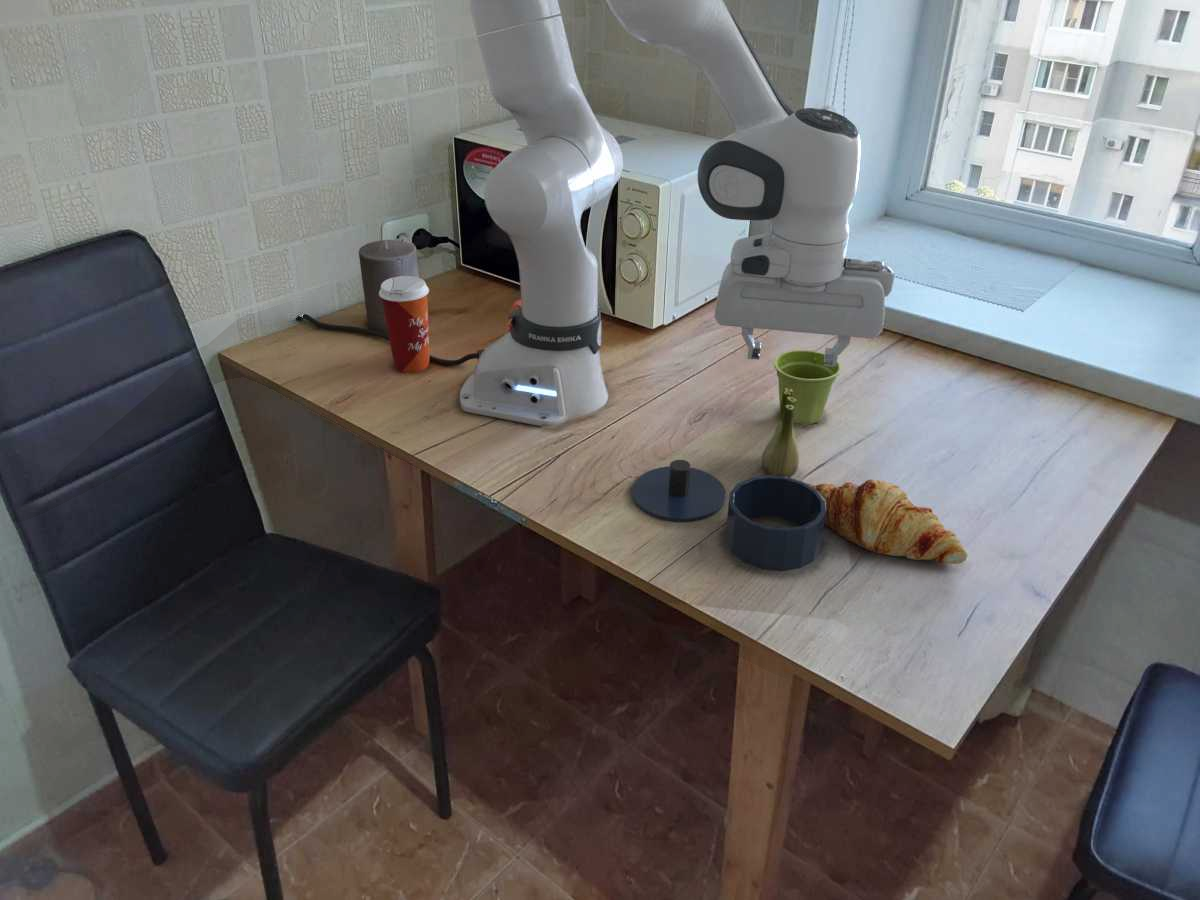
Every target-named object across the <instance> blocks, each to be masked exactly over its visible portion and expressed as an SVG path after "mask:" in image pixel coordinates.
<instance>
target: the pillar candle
mask: <svg viewBox="0 0 1200 900" xmlns="http://www.w3.org/2000/svg"><path fill="white" fill-rule="evenodd" d="M358 258H359V267H360V273H361V283H362V289H363V295H364V296H363V297H364V305H365V311H366V314H365V315H366V319H367V326H368V329H369V330H374V331H377V332H381V333H384V334H387V335H389V334H388V329H387V324H386V318H385V313H384V307H383V302H382V298H381V297H380V296H379V291H380V289H381V284H382V283H383V282H384V281H385V280H387V279H390V278H394V277H399V276H414V277H418V278H420V277H419V266H418V258H417V247H416V245H415V244H414V243H413V242H410V241H406V240H401V239H400V240H399V239H382V240H375V241H371V242H369V243H368V242H367V243H366V244H364V245H362V246H360V248H359V249H358Z"/></svg>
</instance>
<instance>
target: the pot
mask: <svg viewBox="0 0 1200 900" xmlns="http://www.w3.org/2000/svg"><path fill="white" fill-rule="evenodd" d="M807 484H808V483H806V482H804V481H801V480H798V479H795V478H791V477H782V476H771V475H768V474H767V475H757V476H752V477H749V478H747V479H744V480H742V481H740V482H738V483H736V484H735V485H734V487H732V489H731V490H730V491H729V493H728V494H729V495H728V503H727V504H728V505H727V516H726V526H725V539H724V540H725V541H724V543H725V545H726V546H727V548H728V550H729V551H730V553H731V555H733V556H734V557H736V558H737V559H738V560H740V561H741V562H742V563H744V564H746V565H750V566H751V567H755V568H758V569H760V570H766V571H774V572H775V571H777V572H786V571H787V572H788V571H793V570H799V569H802V568H803V567H805V566H808V565H810V564H811V563H813V562H814V561H815V559H816V558H817V557H818V556H819V554H820V553H821V547H822V541H823V535H824V528H825V524H824V523H825V517H826V502H825V500H824V499H823V497H822V496H821V495H820V493H819V492H818V491H817V490H816V489H814V488H812V487H811V486H809V485H807ZM761 517H762V518H763V517H768V518H780V519H783V520H786V521H789V522H793V523H795V524H797V526H790V527H779V526H770V525H769V526H768V525H766V524H762V523H760V522H757V521H753V520H751V519H754V518H761Z"/></svg>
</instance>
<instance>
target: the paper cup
mask: <svg viewBox="0 0 1200 900" xmlns="http://www.w3.org/2000/svg"><path fill="white" fill-rule="evenodd" d="M418 277H419V276H418ZM418 277H414V276H399V277H394V278H390V279H387V280H385V281H384V282H383V283H382V284H381V289H380V291H379V296H380V297H381V298H382V302H383V307H384V313H385V318H386V324H387V329H388V334H387V335H389V339H390V341H389V344H390V349H391V355H392V359H393V363H394V368H395V370H397V371H399V372H402V373H408V374H409V373H418V372H421V371H424V370H426V369H427V368H428V367H429V366H430V361H429V360H430V358H429V355H430V327H429V307H428V306H429V305H428V303H429V302H428V301H429V300H428V294H429V292H430V287H428V285H427V283H426V281H425V280H424V279H423V278H421V277H419V278H418Z"/></svg>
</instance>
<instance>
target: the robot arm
mask: <svg viewBox="0 0 1200 900" xmlns="http://www.w3.org/2000/svg"><path fill="white" fill-rule="evenodd" d="M605 1H606V3H607V5H608V7H609V9H610V11H611V13H612V14H613V16H614V17H615V19H616V21H618V23H619V24H620V26H621V27H622V28H623V29H624V30H625V32H626V33H627V34H628V36H630V37H631V38H632V39H634V40H635V41H638V42H639V43H642V44H643V45H647V46H650V47H654V48H656V49H657V48H658V49H661V50H665V51H668V52H672V53H673V54H676V55H678V56H681V57H683V58H684V59H686V60H688V61H689V62H691V63H692V64H694V66H696V67H697V68H698V69H699V70H700V71H701V73H703V75H704V77H706V79H707V81H708V82H709V84H710V85H711V88H712V89H713V91H714V93H715V94H716V96H717V98H718V100H719V101H720V103H721V105H722V106H723V108H724V110H725V111H726V114H727V115H728V117H729V118H730V120H731V121H732V124H733V126H734V128H735V132H732V133H731V134H729V135H727V136H725V137H723V138H721V139H719V140H718V141H716V142H715V143H713V144H712V145H710V146H709V147H708V148H707V149H706V150H705V151H704V153H703V154H702V156H701V158H700V161H699V162H698V167H697V185H698V190H699V192H700V195H701V198H702V199H703V201H704V202H705V204H706V205H707V206H708V208H709V209H710V210H711V211H712V212H713V213H715V214H716V215H717V216H719V217H722V218H723V219H729V220H734V221H735V220H736V221H770V222H771V231H768V232H764V233H759V234H756V235H751V236H747V237H741V238H738V239H737V240H735V242H734V244H733V245H732V248H731V251H730V262H729V263H728V264H727V265H726V266H725V268H724V270H723V272H722V276H721V279H720V283H719V286H718V291H717V296H716V301H715V308H714V319H715V321H716V322H717V324H719V325H720V326H724V327H736V328H737V327H738V328H741V336H742V338H743V340H744V342H745V344H746V346H747V347H748V349H747V359H748V360H758V361H759V360H760V357H761V355H760V354H761V347H762V342H760V341H756V340H755V339H754V337H753V335H754V329H759V330H769V331H770V330H772V331H782V332H793V333H794V332H795V333H802V334H803V333H805V334H815V335H826V336H827V335H828V336H836V337H837V341H836V342H835V344H834V345H833V346H832V347H825V348H824V354H825V355H824V366H834V367H836V364H837V361H838V358H839V356H840V355H841V354H842V353H843V351H845V350H846V348H847V347H848V346H849V345H850V342H851V338H860V339H875V338H877V337H878V336H879V335H880V334H881V333H883V330H884V323H885V314H886V313H885V312H886V297H888V296H889V295H890V294H891V292H892V290H893V286H894V281H895V274H894V272H893V270H892V269H891V268H890V267H889V266H888V265H885V264H884V263H885V262H883V261H881V260H880V261H879V260H872V261H870V260H862V259H855V258H847V257H846V255H847V249H848V243H849V238H850V225H849V216H850V213H851V209H852V207H853V205H854V203H855V200H856V195H857V190H858V182H859V173H860V165H861V164H860V163H861V137H860V133H859V130H858V128H857V126H856V125H855V124H854V123H853V122H852V121H851V120H850V119H848V118H847V117H845V116H844V115H842V114H839V113H838V112H836V111H831V110H828V109H823V108H814V107H806V108H799V109H797V110H795V111H794V110H792V108H790V107H789V106H788V105H787V104H786V102H785V101H784V100H783V98H781V96H780V94H779V93H778V91H777V89H776V88H775V85H774V84H773V82H772V80H771V78H770V77H769V75H768V73H767V72H766V69H765V68H764V66H763V64H762V63H761V61H760V59H759V57H758V56H757V54H756V52H755V50H754V49H753V47H752V45H751V43H750V41H749V40H748V38H747V36H746V35H745V33H744V30H743V29H742V28H741V26H740V24H739V23H738V21H737V19H736V18H735V17H734V15H733V14H732V12H731V11H730V9H729V8H728V7H727V4H726V3H725V2H724V0H605ZM468 2H469V9H470V14H471V19H472V24H473V27H474V32H475V35H476V39H477V42H478V46H479V47H478V48H479V51H480V53H481V57H482V61H483V66H484V69H485V72H486V77H487V81H488V85H489V88H490V92H491V95H492V97H493V99H494V100H495V102H496V103H497V104H498V105H499V106H500V107H501V108H504V109H505V110H507V111H508V112H509V114H510V115H511V116H513V118H514V119H515V121H516V123H517V124H518V126H519V128H520V130H521V131H522V133H523V136H524V138H525V140H526V143H527V144H525V146H522V147H519V148H517V149H515V150H513V151H511V152H510V153H508V155H506V156H505V157H504V158H503V159H502V160H501V161H500V162H499V163H498V164H497V165H496V166H495V167H494V168H492V170H491V171H490V172H489V174H488V175H487V178H486V180H485V183H484V188H483V197H484V202H485V207H486V210H487V212H488V214H489V216H490V218H491V219H492V221H493V222H494V223H495V225H496V226H497V227H499V229H500V230H502V231H503V232H505V233H506V234H507V235H508V237H509V239H510V241H511V244H512V246H513V248H514V251H515V255H516V260H517V263H518V270H519V272H518V273H519V286H520V299H517V300H515V301H514V302H513V305H512V306H511V308H510V313H509V315H508V321H507V323H506V324H507V333H505V334H504V335H502V336H501V337H499V338H497V339H496V340H495V341H492V342H491V343H490V344H488V346H486V348H484V349H476V352H475V353H469V354H466V355H464V356H462V357H460V358H458V359H444V358H443V359H442V358H439V357H435V356H433V355H430V354H429V358H430V360H429V362H432V363H434V364H437V365H442V366H459V365H462V364H464V363H466V362H468V361H470V360H475V359H477V360H476V361H477V362H476V365H475V367H474V368H475V369H474V372H473V373H471V374H470V376H468V378H467V379H466V380H465V382H464V383H463V385H462V387H461V389H460V392H459V406H460V408H461V410H462V411H463V412H466V413H470V414H476V415H481V416H485V417H490V418H491V417H492V418H495V419H503V420H506V421H512V422H517V423H523V424H527V425H533V426H538V427H542V426H556V425H559V424H561V423H563V422H565V421H567V420H569V419H573V418H577V417H581V416H584V415H588V414H590V413H592V412H595V411H596V410H598V409H600V408H604V407H605V405H606V404H607V402H608V400H609V392H608V389H607V387H606V383H605V379H604V375H603V370H602V369H603V368H602V362H601V355H600V354H601V353H600V349H601V345H602V330H603V329H602V317H601V310H600V308H599V305H598V303H599V302H598V300H599V298H598V297H599V295H598V293H599V265H598V260H597V258H596V256H595V254H594V253H593V252H592V251H591V250H590V249H589V248H587V247H586V244H585V241H584V238H583V237H584V236H583V234H582V227H581V219H582V215H583V213H584V212H585V211H586V210H588V209H590V208H591V207H593V206H595V205H596V204H598V203H599V202H601V201H603V200H604V199H605V198H606V197H607V195H609V193H610V192H611V191H612V190H613V188H615V185H616V184H617V183H618V181H619V179H620V178H621V175H622V172H623V169H624V168H623V167H624V158H623V153H622V149H621V147H620V144H619V142H618V141H617V139H616V138H615V137H614V136H613V134H611V133H610V132H609V131H608V130H607V129H605V128H604V127H602V125H601V123H600V122H599V121H598V119H597V117H596V116H595V113H594V111H593V110H592V108H591V106H590V104H589V102H588V100H587V97H586V96H585V94H584V91H583V89H582V87H581V85H580V84H581V83H580V81H579V79H578V76H577V73H576V69H575V65H574V62H573V61H574V60H573V58H572V54H571V50H570V46H569V41H568V38H567V34H566V29H565V25H564V21H563V17H562V12H561V8H560V4H559V0H468ZM303 314H304V315H303V318H302V317H300V316H299V315H296V318H295V321H296V322H300V321H302V320H303V319H304V320H305V321H308V322H309V323H310V324H312V325H314V326H316V327H318V328H321V329H324V330H331V331H332V330H333V331H341V332H353V333H360V334H364V335H368V336H373V337H376V338H380V339H383V340H386V341H388V342H390V339H389V334H384V333H381V332H377V331H374V330H371V329H370V328H363V327H359V326H351V325H340V324H331V323H325V322H321V321H318V320H317V319H315V318H314V317H312V316H311V315H309V314H307V313H303Z"/></svg>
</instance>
